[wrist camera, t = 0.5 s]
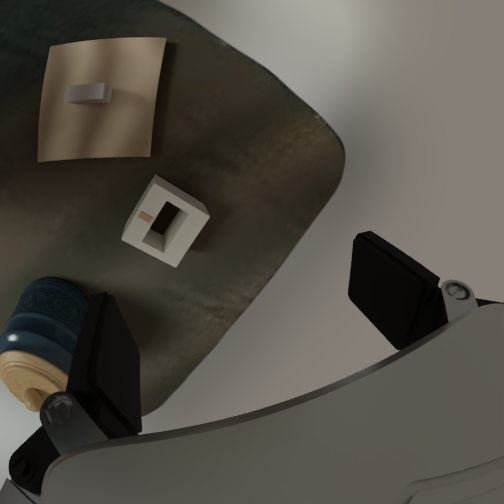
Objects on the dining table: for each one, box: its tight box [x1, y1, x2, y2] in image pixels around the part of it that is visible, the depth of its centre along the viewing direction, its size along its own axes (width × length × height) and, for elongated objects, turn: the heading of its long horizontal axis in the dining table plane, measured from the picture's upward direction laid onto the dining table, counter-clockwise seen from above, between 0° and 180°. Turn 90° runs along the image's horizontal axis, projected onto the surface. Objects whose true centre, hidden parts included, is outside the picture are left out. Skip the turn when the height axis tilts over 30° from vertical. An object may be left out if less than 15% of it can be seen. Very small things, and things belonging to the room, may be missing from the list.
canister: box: [0, 278, 89, 412], centre depth 25 cm, size 13×13×18 cm
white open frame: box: [121, 174, 210, 268], centre depth 30 cm, size 7×7×5 cm
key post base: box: [38, 38, 166, 162], centre depth 21 cm, size 14×14×6 cm
